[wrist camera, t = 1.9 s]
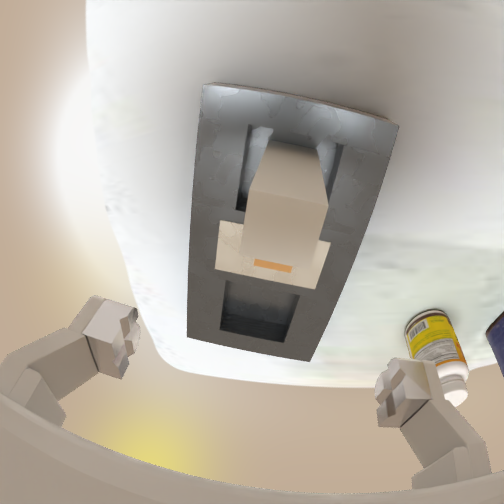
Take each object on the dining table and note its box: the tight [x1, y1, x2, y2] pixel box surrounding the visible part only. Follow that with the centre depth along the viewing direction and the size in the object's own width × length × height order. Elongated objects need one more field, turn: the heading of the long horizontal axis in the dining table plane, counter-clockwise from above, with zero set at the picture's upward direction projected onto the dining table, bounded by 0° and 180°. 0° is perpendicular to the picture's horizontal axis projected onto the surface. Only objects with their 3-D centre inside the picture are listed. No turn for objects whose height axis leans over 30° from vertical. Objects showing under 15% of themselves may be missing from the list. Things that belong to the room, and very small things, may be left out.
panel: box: [187, 82, 399, 362], centre depth 26 cm, size 24×13×3 cm, turn 171°
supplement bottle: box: [405, 310, 469, 407], centre depth 26 cm, size 6×6×10 cm
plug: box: [239, 140, 329, 273], centre depth 19 cm, size 4×4×10 cm
